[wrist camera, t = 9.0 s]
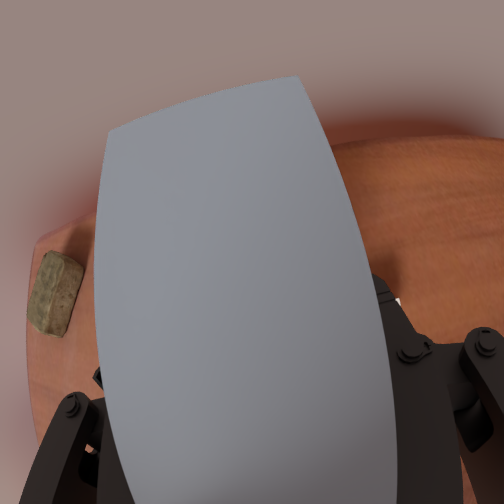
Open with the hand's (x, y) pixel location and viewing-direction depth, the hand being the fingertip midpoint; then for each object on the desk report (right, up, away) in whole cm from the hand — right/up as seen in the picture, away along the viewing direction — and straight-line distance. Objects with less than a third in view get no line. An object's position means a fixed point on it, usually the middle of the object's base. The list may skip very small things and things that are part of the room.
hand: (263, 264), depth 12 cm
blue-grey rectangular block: (+1, -5, +3) cm, 6 cm away
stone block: (-27, -6, +21) cm, 35 cm away
